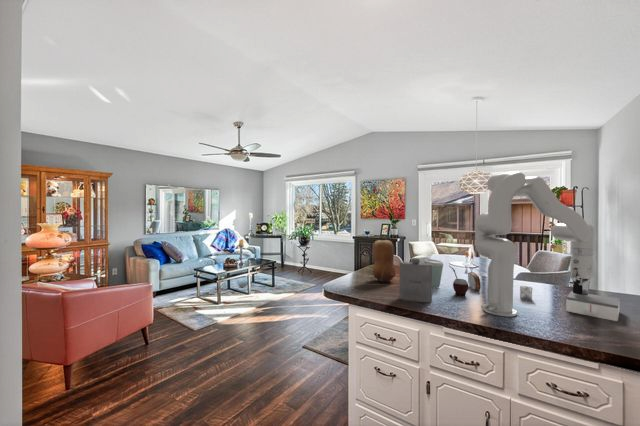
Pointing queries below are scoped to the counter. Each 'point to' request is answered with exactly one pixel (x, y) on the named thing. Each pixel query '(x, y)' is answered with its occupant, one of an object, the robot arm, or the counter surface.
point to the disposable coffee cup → (435, 271)
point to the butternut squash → (384, 261)
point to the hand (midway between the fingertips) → (580, 292)
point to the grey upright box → (415, 281)
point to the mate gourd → (460, 286)
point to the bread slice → (474, 281)
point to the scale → (593, 306)
